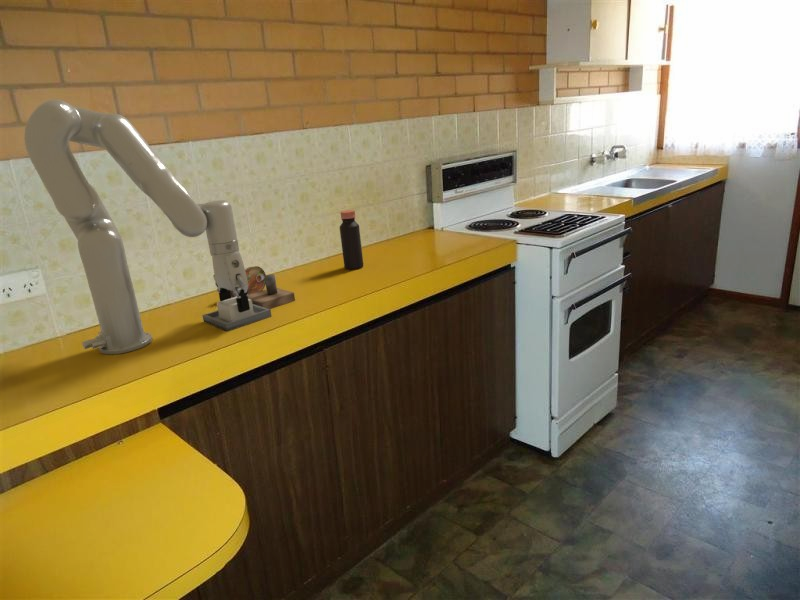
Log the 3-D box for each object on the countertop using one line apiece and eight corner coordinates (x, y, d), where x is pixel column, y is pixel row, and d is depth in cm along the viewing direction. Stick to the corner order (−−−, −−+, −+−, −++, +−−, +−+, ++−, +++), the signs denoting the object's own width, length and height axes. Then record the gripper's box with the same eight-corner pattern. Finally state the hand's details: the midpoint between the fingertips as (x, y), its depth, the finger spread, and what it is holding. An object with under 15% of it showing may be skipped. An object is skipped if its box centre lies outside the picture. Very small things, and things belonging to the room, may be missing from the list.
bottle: (352, 271, 199) (345, 213, 193) (340, 268, 204) (333, 212, 198) (367, 266, 203) (361, 210, 197) (356, 264, 208) (349, 209, 202)
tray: (227, 331, 150) (225, 324, 150) (203, 321, 160) (202, 315, 159) (271, 316, 159) (270, 309, 159) (246, 307, 169) (245, 301, 168)
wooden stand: (263, 311, 164) (258, 284, 162) (243, 304, 172) (239, 279, 170) (295, 300, 172) (291, 274, 169) (275, 294, 179) (271, 270, 177)
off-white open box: (254, 315, 159) (251, 299, 158) (231, 322, 155) (228, 306, 153) (241, 310, 164) (238, 295, 163) (219, 317, 160) (216, 302, 158)
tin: (234, 302, 176) (229, 276, 173) (227, 301, 177) (222, 275, 175) (268, 288, 187) (264, 263, 185) (261, 287, 189) (257, 262, 187)
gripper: (253, 247, 150) (263, 309, 155) (221, 241, 162) (232, 299, 167) (227, 254, 145) (238, 317, 150) (196, 247, 157) (208, 306, 162)
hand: (235, 307), depth 159 cm, fingers open, 9 cm apart
